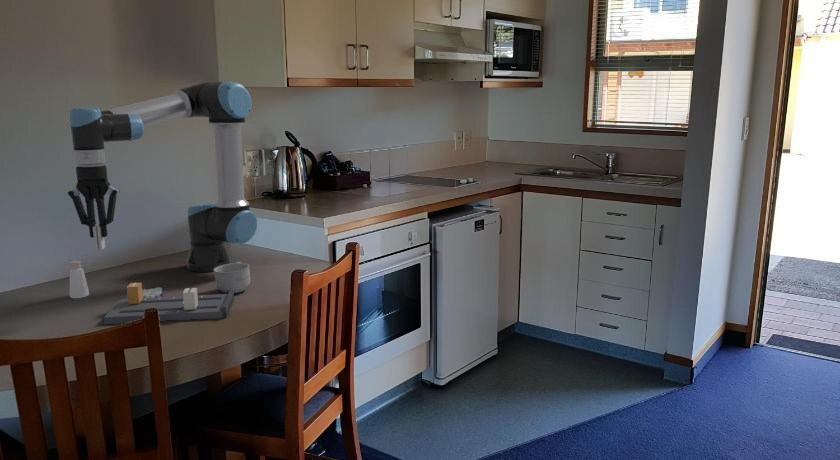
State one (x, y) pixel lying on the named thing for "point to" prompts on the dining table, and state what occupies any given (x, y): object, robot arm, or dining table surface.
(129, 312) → the console
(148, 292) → the smartphone
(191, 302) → the fader ivory
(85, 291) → the salt shaker
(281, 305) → the dining table surface
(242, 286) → the teacup
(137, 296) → the fader orange
